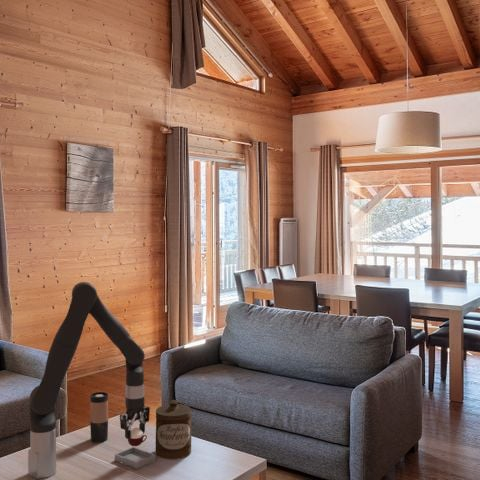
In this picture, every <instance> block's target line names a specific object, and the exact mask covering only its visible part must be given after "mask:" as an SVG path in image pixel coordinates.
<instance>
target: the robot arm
mask: <svg viewBox="0 0 480 480" xmlns="http://www.w3.org/2000/svg"><path fill="white" fill-rule="evenodd" d="M89 315H91V317H92V318H93V319H94V320H95V322H96V323H97V324H98V326H100V328H101V330H102V331H103V333H104V334H105V336H107V338H108V339H109V340H110V341H111V343H113V344H114V346H116V348H118V350H119V352H120V353H121V354H122V356H123V357H124V358H125V368H126V369H125V370H126V374H125V375H126V376H125V402H124V403H125V408H126V411H125V413H120V414H119V423H120V429H122V430H124V438H125V439H126V440H128V439H131V430H130V429H131V428H132V426H133V425H134V424H135V422H136V421H138V422H139V425H138V426H139V427H138V428H139V429H140V430H142V432H143V435H145V432H146V423H148V422H149V421H150V412H151V411H150V410H151V409H150V408H151V407H150V406H147V405H146V404H145V401H146V399H145V375H144V374H145V373H144V369H143V362H144V360H145V357H146V355H145V352H144V350H143V348H142V346H140V345H139V344H138V343H137V342H136V341H135V339H133V338H132V336H131V335H130V333H129V332H128V330H127V329H126V327H124V326H123V324H122V323H121V322H120V321H119V320H118V318H116V317H115V315H113V313H112V312H111V311H110V310H109V309H108V308H107V307H106V306H105V304H104V303H103V302H102V300H101V299H100V297H99V295H98V292H97V289H96V288H95V286H94V285H93V284H91V283H89V282H86V281H82V282H78V283H76V284H75V285H74V286H73V288H72V290H71V299H70V304H69V308H68V310H67V314H66V316H65V318H64V319H63V322H62V323H61V325H60V326H59V328H58V330H57V332H56V333H55V336H54V338H53V340H52V343H51V346H50V348H49V350H48V354H47V355H48V356H47V359H46V363H45V369H44V373H43V376H42V378H41V381H40V383H39V385H37V386H35V387H34V388H33V389H32V391H31V393H30V395H29V427H30V428H29V429H30V430H29V431H30V435H29V436H30V439H29V440H30V442H29V443H30V445H29V447H30V448H29V449H28V452H27V455H28V456H27V459H28V461H27V467H28V468H27V469H28V470H27V471H28V473H27V474H28V475H29V476H30V477H32V478H34V479H36V480H39V479H45V478H49V477H51V476H53V475H55V474H56V472H57V418H56V404H57V401H58V398H59V393H60V390H61V387H62V383H63V381H64V378H65V376H66V374H67V373H68V370H69V368H70V365H71V363H72V360H73V358H74V356H75V354H76V351H77V349H78V345H79V344H80V340H81V337H82V333H83V331H84V327H85V323H86V320H87V318H88V316H89Z"/></svg>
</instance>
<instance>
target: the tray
mask: <svg viewBox="0 0 480 480" xmlns="http://www.w3.org/2000/svg"><path fill="white" fill-rule="evenodd" d="M115 460H116V461H115ZM114 461H115V462H117V461H119V462H118V463H120V462H122V463H123V464H122V463H121V464H122V465H124V464H126V465H125V466H127V465H128V466H127V467H129V466H130V467H129V468H131V467H132V469H134V470H136V469H137V470H139V469H141V468H143V467H145V465H146V466H148V465H150V464H152V463H154V462H156V454H155V453H152V452H149V451H146V450H144V449H141V448H138V447H137V446H131V447H128V448H127V449H125V450H122V451H120V452H116V453H115V454H114ZM147 464H148V465H147ZM138 468H139V469H138Z"/></svg>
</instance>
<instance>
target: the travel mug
mask: <svg viewBox="0 0 480 480" xmlns="http://www.w3.org/2000/svg"><path fill="white" fill-rule="evenodd" d="M89 396H90V399H89V401H90V404H89V409H90V410H89V411H90V412H89V413H90V415H89V416H90V417H89V420H90V422H89V423H90V424H89V425H90V427H89V428H90V441H91V442H92V443H95V442H101V443H104V441H105V442H106V441H107V440H108V439H109V438H108V437H109V394H108V393H107V392H106V391H105V392H104V391H98V392H97V391H95V392H93V393H90V395H89Z"/></svg>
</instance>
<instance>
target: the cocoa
mask: <svg viewBox="0 0 480 480" xmlns="http://www.w3.org/2000/svg"><path fill="white" fill-rule="evenodd" d="M130 430H131V439H127V441H128V444H129V445H130V446H131V447H139V446H140V445H141V444H143V443H144V442H146V440H147V439H148V436H147V435H146V434H143V432H142V430H140V429H139V427H137V426H134V427H132V426H131V429H130ZM144 437H145V438H144Z"/></svg>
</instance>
